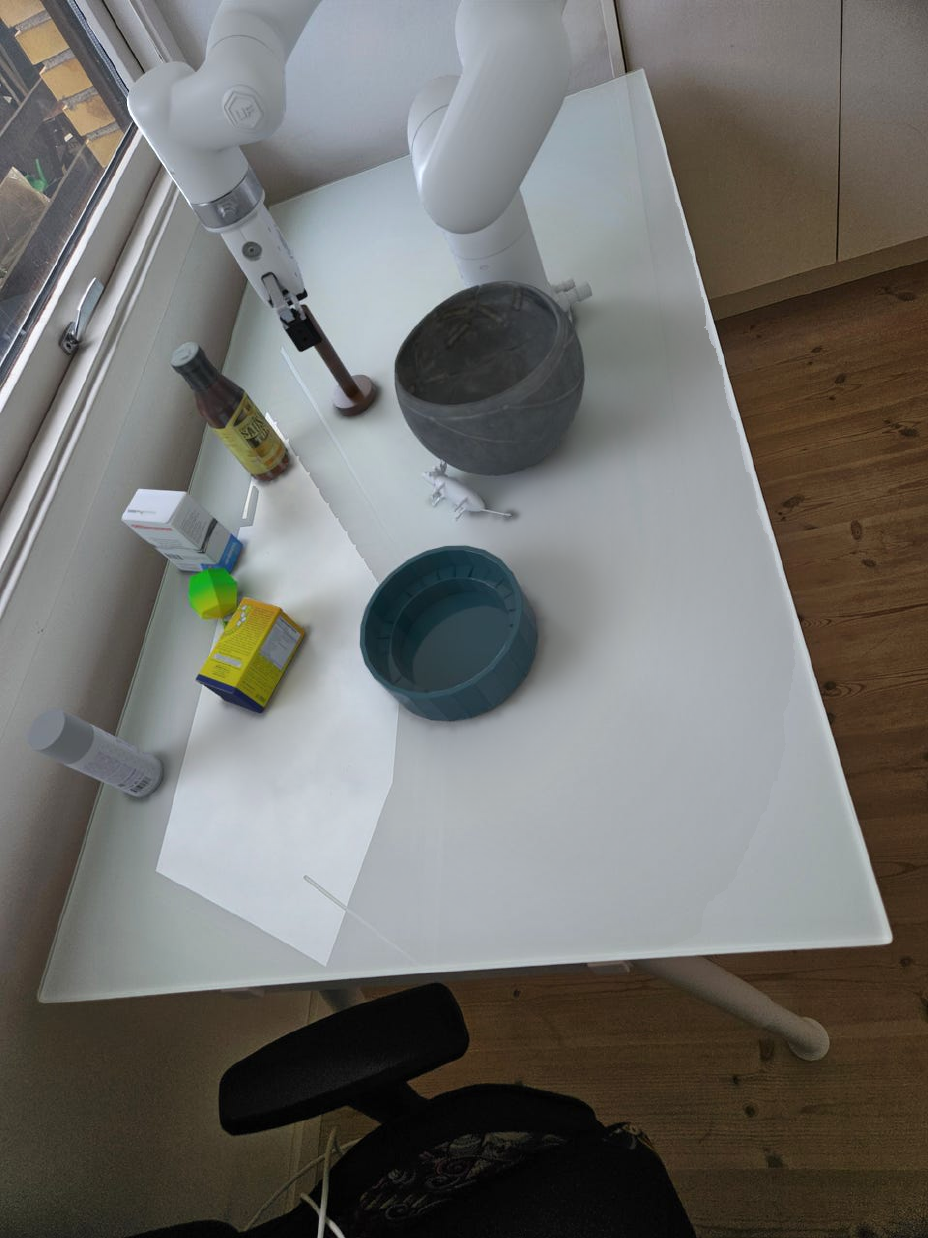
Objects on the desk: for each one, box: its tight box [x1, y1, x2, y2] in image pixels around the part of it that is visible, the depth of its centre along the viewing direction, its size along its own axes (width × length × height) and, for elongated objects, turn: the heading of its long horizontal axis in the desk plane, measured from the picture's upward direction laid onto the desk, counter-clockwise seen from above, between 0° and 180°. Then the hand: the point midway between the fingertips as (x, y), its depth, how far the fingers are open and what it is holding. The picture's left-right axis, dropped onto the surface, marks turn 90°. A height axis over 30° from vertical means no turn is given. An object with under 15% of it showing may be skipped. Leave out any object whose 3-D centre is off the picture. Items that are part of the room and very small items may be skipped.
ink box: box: [120, 488, 243, 575], centre depth 101 cm, size 9×5×12 cm, turn 71°
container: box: [27, 707, 164, 798], centre depth 86 cm, size 5×5×15 cm
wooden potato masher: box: [294, 303, 378, 417], centre depth 105 cm, size 6×6×16 cm
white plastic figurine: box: [421, 459, 513, 522], centre depth 93 cm, size 12×5×5 cm
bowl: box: [393, 281, 586, 477], centre depth 91 cm, size 21×21×15 cm
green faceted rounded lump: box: [187, 568, 239, 631], centre depth 98 cm, size 7×6×9 cm
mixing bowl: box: [359, 544, 539, 723], centre depth 83 cm, size 17×17×6 cm
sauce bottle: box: [169, 341, 290, 482], centre depth 103 cm, size 6×6×20 cm
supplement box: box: [194, 596, 307, 715], centre depth 91 cm, size 6×6×11 cm
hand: (304, 322), depth 100 cm, fingers open, 9 cm apart
